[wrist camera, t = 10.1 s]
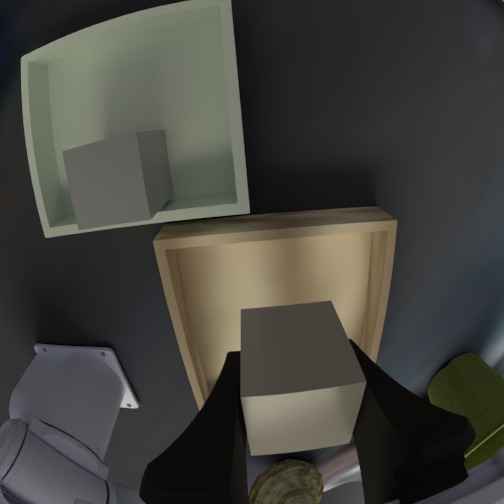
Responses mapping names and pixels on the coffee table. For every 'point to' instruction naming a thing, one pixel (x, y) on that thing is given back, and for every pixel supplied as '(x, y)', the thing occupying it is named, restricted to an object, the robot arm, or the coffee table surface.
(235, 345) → the birch bin
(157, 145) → the grey block
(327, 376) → the stone
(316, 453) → the coffee table surface
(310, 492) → the seashell
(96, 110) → the green bin
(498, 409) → the plant pot
